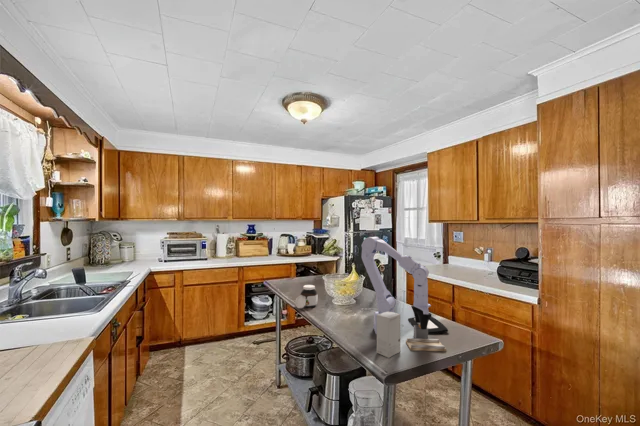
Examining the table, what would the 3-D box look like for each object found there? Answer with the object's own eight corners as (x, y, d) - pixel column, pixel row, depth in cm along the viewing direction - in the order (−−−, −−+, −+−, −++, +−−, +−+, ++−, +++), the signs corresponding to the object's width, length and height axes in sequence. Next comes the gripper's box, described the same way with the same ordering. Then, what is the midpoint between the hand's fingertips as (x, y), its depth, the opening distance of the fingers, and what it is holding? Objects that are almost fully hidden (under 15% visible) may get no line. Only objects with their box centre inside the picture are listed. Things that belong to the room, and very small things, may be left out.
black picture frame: (405, 316, 150) (431, 313, 151) (405, 321, 150) (432, 318, 151) (420, 331, 131) (450, 327, 131) (421, 337, 131) (451, 334, 131)
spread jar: (318, 304, 174) (318, 285, 174) (314, 310, 163) (314, 289, 163) (299, 303, 177) (299, 284, 177) (293, 308, 166) (293, 288, 166)
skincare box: (388, 358, 108) (389, 318, 108) (375, 353, 112) (375, 314, 113) (401, 351, 114) (401, 313, 114) (388, 346, 118) (388, 309, 118)
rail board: (410, 350, 115) (410, 345, 115) (405, 342, 122) (405, 338, 122) (446, 351, 114) (446, 346, 114) (439, 343, 122) (439, 339, 122)
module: (416, 340, 124) (416, 326, 124) (413, 336, 128) (413, 323, 128) (428, 340, 124) (428, 327, 124) (425, 337, 128) (425, 323, 128)
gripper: (436, 299, 119) (436, 332, 119) (424, 290, 134) (425, 319, 133) (418, 298, 119) (418, 332, 119) (409, 290, 134) (409, 319, 134)
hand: (420, 325), depth 126 cm, fingers open, 7 cm apart
